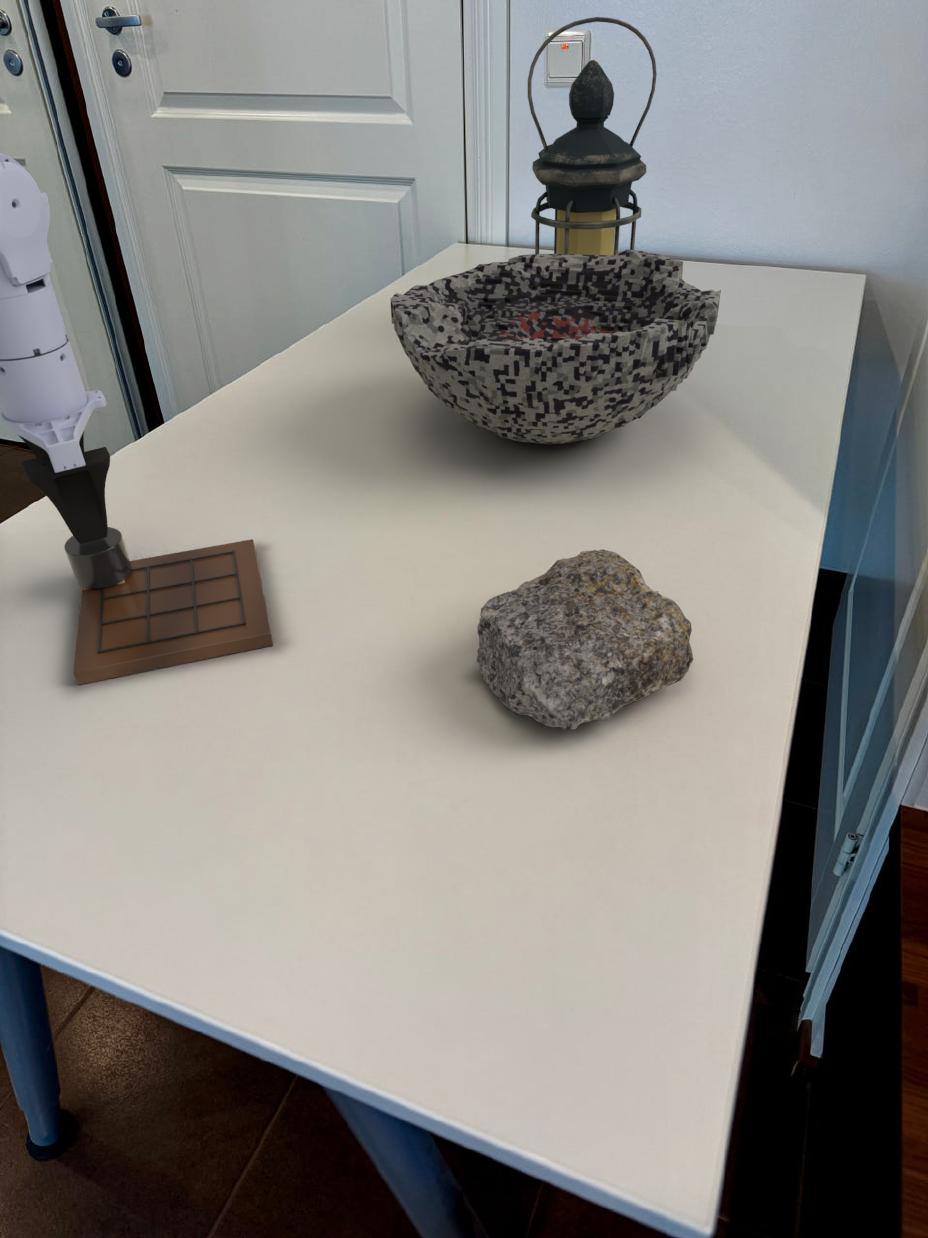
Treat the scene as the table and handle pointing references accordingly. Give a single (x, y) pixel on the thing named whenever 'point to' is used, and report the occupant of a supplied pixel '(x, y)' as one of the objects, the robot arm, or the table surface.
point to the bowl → (556, 341)
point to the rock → (581, 641)
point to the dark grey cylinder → (99, 560)
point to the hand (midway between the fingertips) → (84, 516)
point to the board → (173, 613)
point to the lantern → (588, 164)
